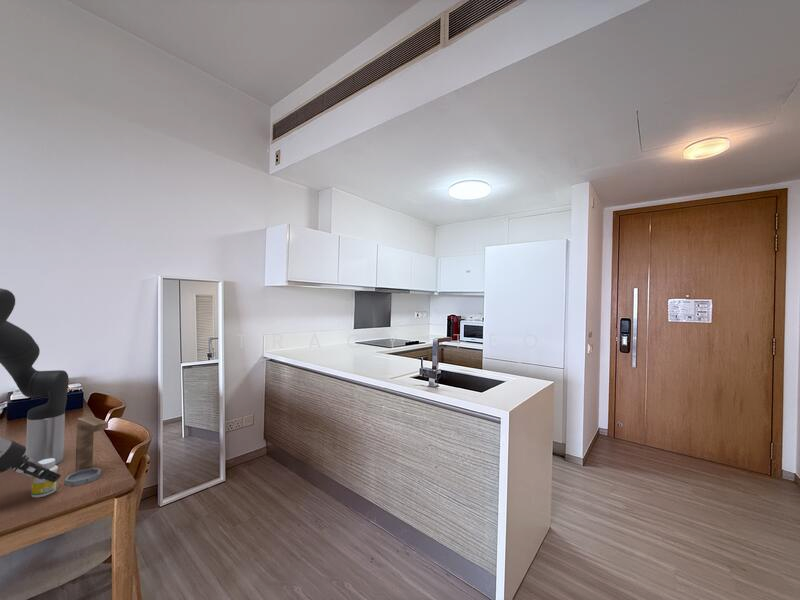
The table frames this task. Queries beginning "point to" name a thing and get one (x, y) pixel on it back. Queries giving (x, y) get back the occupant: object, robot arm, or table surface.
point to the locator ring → (82, 476)
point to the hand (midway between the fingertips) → (53, 476)
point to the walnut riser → (86, 440)
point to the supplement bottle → (44, 480)
